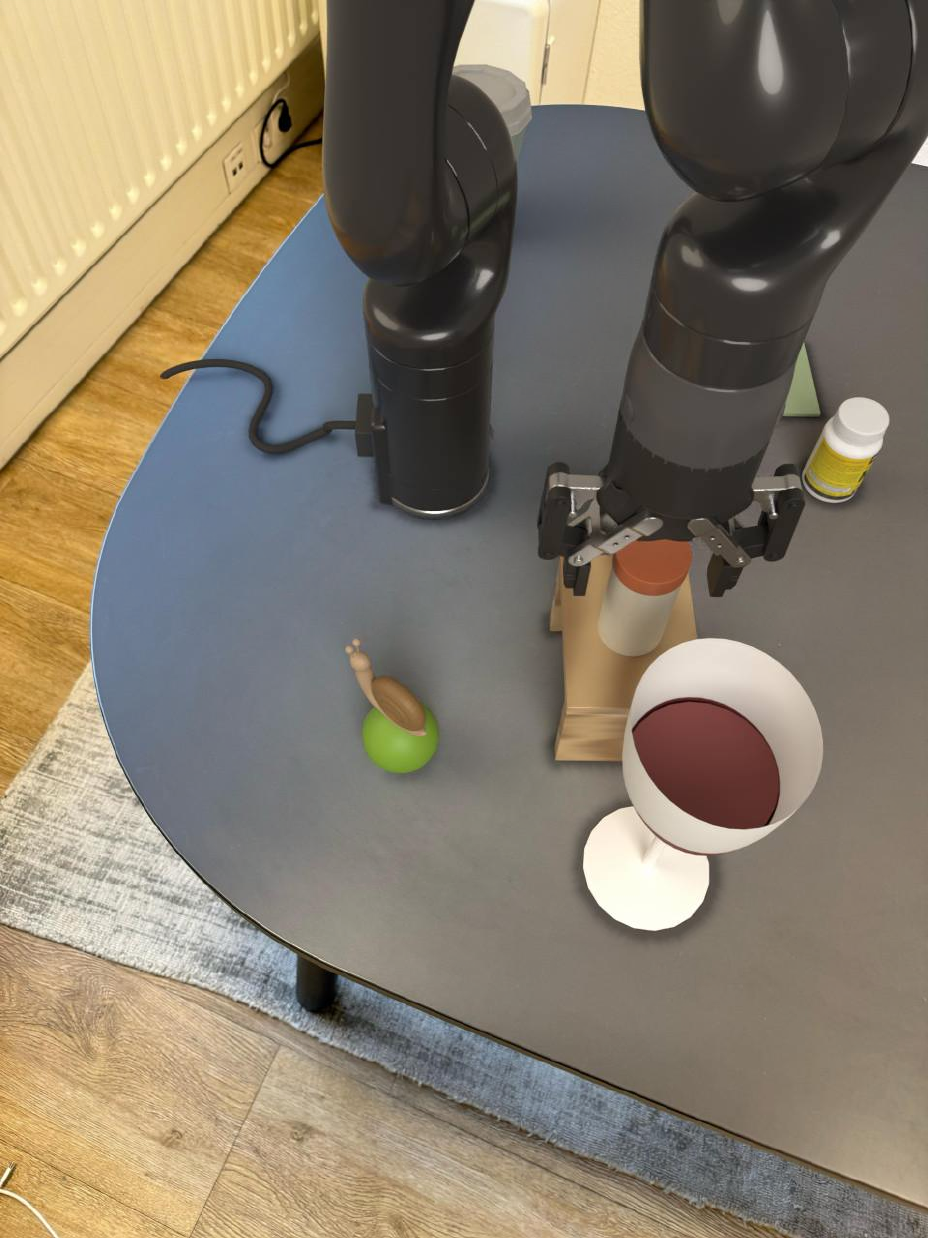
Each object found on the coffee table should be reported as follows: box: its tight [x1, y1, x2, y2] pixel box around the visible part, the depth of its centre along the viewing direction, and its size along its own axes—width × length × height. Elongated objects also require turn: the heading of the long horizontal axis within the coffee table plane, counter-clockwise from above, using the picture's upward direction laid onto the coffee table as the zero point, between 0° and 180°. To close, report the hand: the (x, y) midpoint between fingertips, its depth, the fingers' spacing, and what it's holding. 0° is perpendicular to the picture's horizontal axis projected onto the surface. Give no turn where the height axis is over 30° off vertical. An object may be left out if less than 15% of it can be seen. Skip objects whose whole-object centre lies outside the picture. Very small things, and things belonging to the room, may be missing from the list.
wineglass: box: [582, 637, 824, 932], centre depth 57 cm, size 9×10×23 cm
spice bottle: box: [598, 539, 693, 657], centre depth 62 cm, size 5×5×9 cm
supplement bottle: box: [801, 396, 890, 504], centre depth 80 cm, size 5×5×8 cm
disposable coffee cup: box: [452, 63, 533, 164], centre depth 94 cm, size 11×11×15 cm
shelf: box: [549, 554, 698, 762], centre depth 69 cm, size 9×12×9 cm
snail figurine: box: [345, 637, 440, 774], centre depth 66 cm, size 5×6×12 cm
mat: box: [782, 342, 821, 418], centre depth 89 cm, size 9×9×1 cm
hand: (645, 584), depth 61 cm, fingers open, 8 cm apart
